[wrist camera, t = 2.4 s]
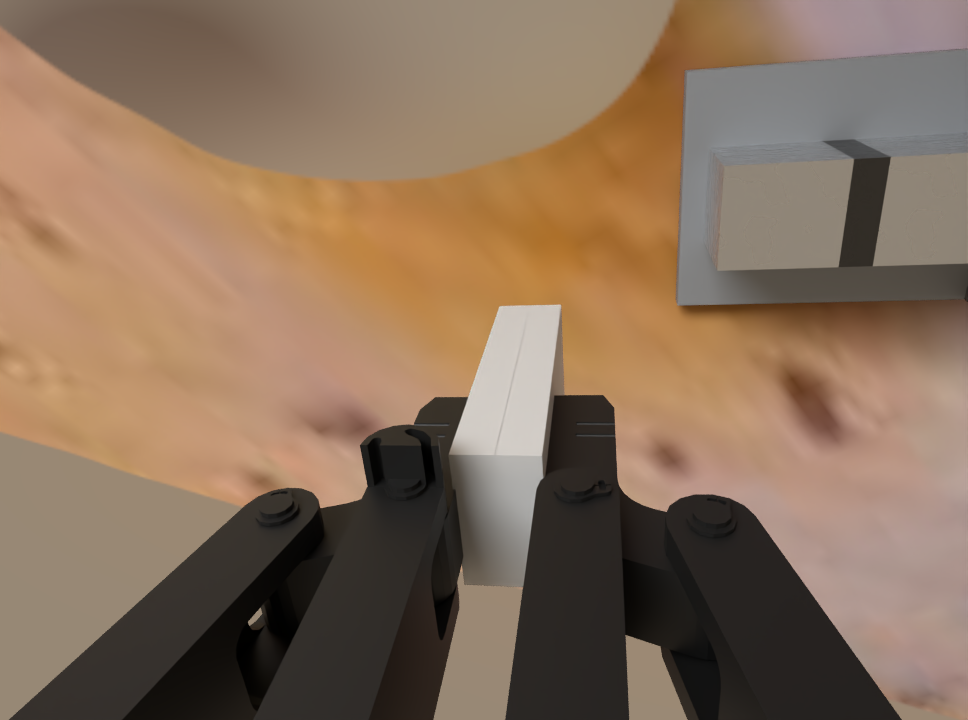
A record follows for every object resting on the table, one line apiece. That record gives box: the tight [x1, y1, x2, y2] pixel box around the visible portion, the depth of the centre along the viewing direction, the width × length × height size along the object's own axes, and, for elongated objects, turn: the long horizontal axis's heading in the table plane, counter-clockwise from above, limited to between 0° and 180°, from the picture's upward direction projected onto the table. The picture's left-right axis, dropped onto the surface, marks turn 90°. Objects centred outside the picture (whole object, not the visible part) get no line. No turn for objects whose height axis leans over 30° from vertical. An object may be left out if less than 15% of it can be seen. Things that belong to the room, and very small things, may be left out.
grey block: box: [704, 133, 968, 271], centre depth 27 cm, size 10×4×4 cm, turn 94°
